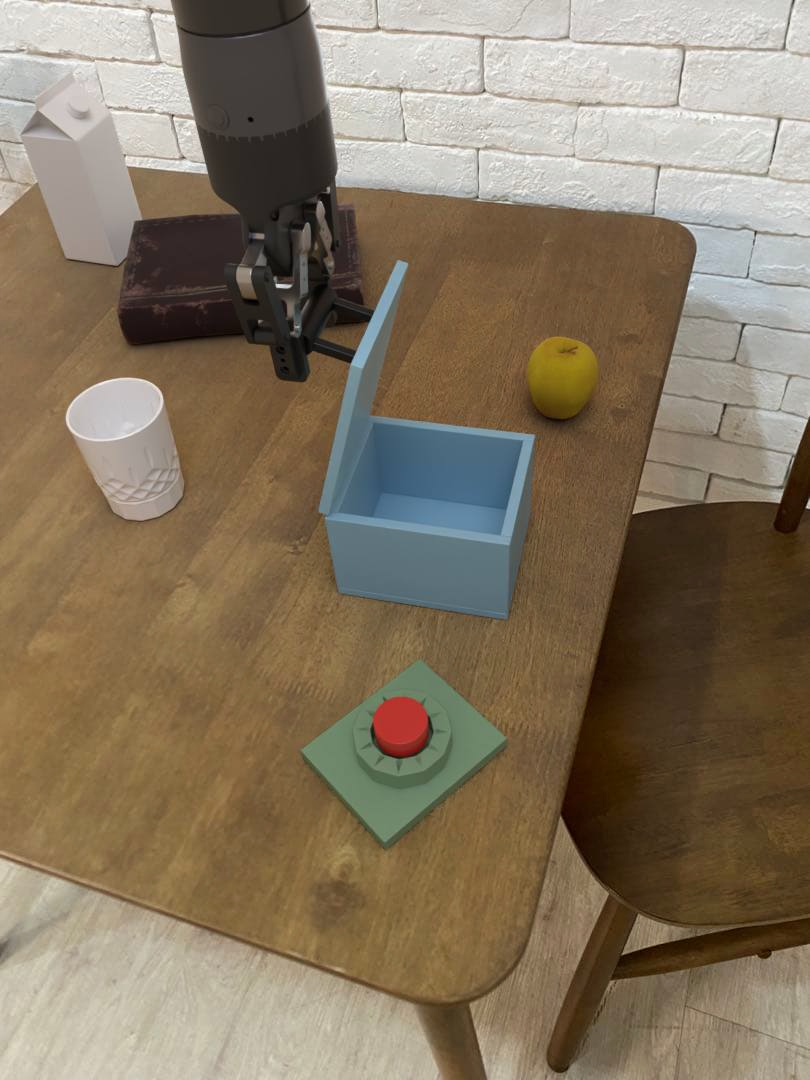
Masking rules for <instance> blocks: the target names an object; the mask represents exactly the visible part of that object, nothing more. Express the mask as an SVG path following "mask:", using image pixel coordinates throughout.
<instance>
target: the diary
mask: <svg viewBox="0 0 810 1080" xmlns="http://www.w3.org/2000/svg"><path fill="white" fill-rule="evenodd" d="M337 205H338V218H339V230H340V240H341V246H340V249H339V252H331V254H332V257H333V259H334V264H335V267H334V271H333V274H332V275H329V276H331V281H332V288H333V290H334V291H335V292H336V294H337V297H338V298H340V299H343V300H346V301H349V302H352V303H355V304H358V305H361V306H364V307H366V305H365V293H364V283H363V274H362V265H361V264H362V263H361V253H360V245H359V235H358V228H357V227H358V226H357V217H356V207H355V203H354V202H346V203H345V202H344V203H337ZM241 219H242V217H241V215H240V213H239V212H238V213H206V214H205V213H204V214H203V213H201V214H186V215H177V216H169V217H168V216H167V217H157V218H148V219H142V220H138V221H134V225H133V230H132V234H131V239H130V243H129V248H128V253H127V257H126V258H125V262H124V269H123V274H122V280H121V286H120V292H119V297H118V298H119V299H118V304H117V308H116V313H117V318H118V323H119V327H120V330H121V332H122V335H123V338H124V339H125V341H126V343H127V344H128V345H139V344H147V343H153V342H160V341H161V342H162V341H169V340H177V339H183V338H185V339H186V338H193V337H205V336H217V335H218V336H220V335H231V334H232V335H233V334H243V333H244V331H243V329H242V326H241V323H240V321H239V318H238V315H237V313H236V310H235V307H234V305H233V302H232V299H231V297H230V294H229V291H228V289H227V286H226V283H225V281H224V269H225V266H226V264H228V263H229V264H241V262H242V260H243V258H244V255H245V253H246V251H245V249H244V246H243V241H242V221H241ZM325 221H326V220H325ZM326 224H327V223H326ZM277 284H285V285H292V284H293V277H277ZM281 303H282V307H283V310H284V313H285V316H286V318H287V303H286V302H285V301H284V300H281ZM302 310H303V309H302V304H301V311H302ZM336 313H337V319H336V322H335V324H340V323H341V324H342V323H356V322H363V321H362V320H359V319H356V318H353V317H350V316H347V315H344V314H341V313H338V312H336Z"/></svg>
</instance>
